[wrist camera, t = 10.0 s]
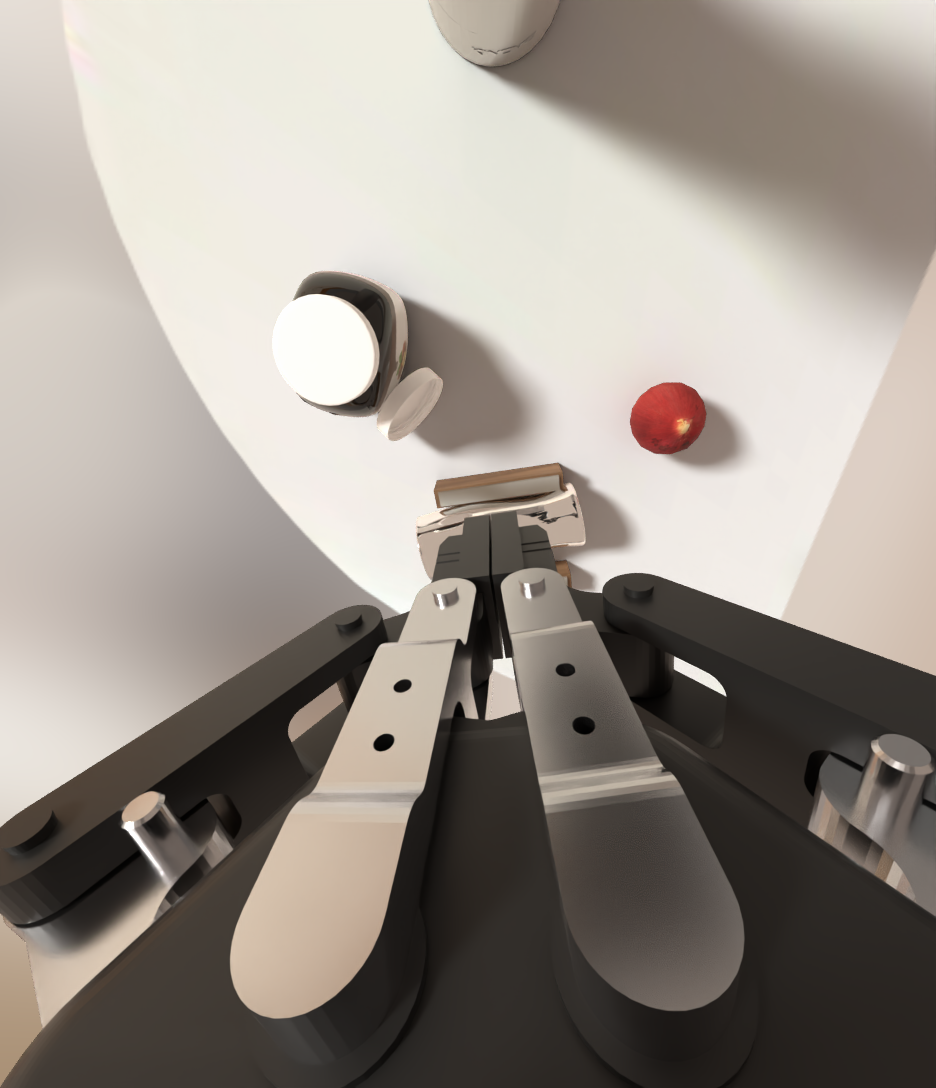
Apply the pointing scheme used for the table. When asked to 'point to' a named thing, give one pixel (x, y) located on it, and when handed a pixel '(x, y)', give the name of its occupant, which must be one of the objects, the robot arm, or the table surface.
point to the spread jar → (353, 352)
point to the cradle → (503, 491)
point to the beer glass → (546, 510)
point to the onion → (668, 418)
